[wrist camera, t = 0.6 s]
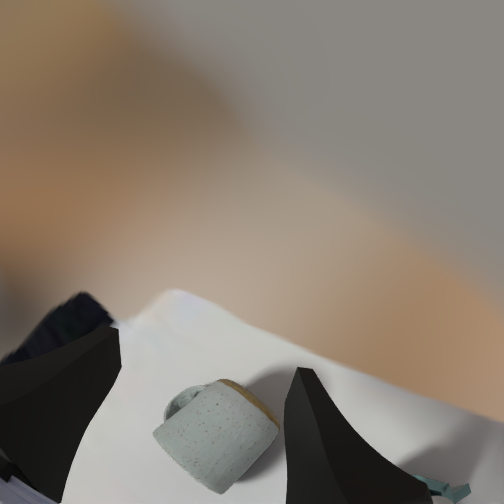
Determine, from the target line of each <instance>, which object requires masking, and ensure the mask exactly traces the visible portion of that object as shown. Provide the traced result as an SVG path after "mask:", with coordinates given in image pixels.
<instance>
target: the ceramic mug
mask: <svg viewBox="0 0 504 504" xmlns="http://www.w3.org/2000/svg"><path fill="white" fill-rule="evenodd" d="M279 428H280V426H279V421H278V419H277V418H276V416H275V415H274V414H273V412H272V411H271V410H270V409H269V408H268V407H267V406H266V405H265V404H264V403H263V402H261V401H260V400H259V399H258V398H257V397H255V396H254V395H253V394H252V393H250V392H249V391H248V390H247V389H245V388H243V387H242V386H240V385H239V384H237V383H235V382H234V381H231V380H228V379H219V380H217V381H216V382H214V383H212V384H211V385H209V386H208V387H207V386H201V385H199V386H193V387H190V388H188V389H186V390H184V391H182V392H181V393H179V394H178V395H177V396H175V397H174V398H173V399H172V400H171V401H170V403H169V404H168V406H167V407H166V409H165V412H164V423H163V424H162V425H160V426H159V427H158V428H157V429H155V430H154V432H153V436H154V438H155V440H156V441H157V443H158V444H159V445H160V446H161V448H162V449H163V450H164V451H165V452H166V453H167V454H168V455H169V456H170V457H171V458H172V459H173V460H174V461H175V462H176V463H177V464H178V465H179V466H180V467H181V468H182V469H183V470H184V471H185V472H187V473H188V474H189V475H190V476H191V477H192V478H194V479H195V480H196V481H198V482H199V483H201V484H202V485H204V486H205V487H206V488H208V489H209V490H211V491H213V492H215V493H218V494H223V493H225V492H226V491H227V490H228V489H229V488H230V487H231V486H232V485H233V484H234V483H235V482H236V481H237V480H238V479H239V478H240V477H241V476H242V475H243V474H244V473H245V472H246V471H247V470H248V469H249V467H250V466H251V465H252V464H253V463H254V462H255V461H256V460H257V459H258V458H259V456H260V455H261V454H262V453H263V452H264V451H265V450H266V449H267V448H268V447H269V446H270V444H271V443H272V442H273V440H274V439H275V437H276V435H277V434H278V432H279Z"/></svg>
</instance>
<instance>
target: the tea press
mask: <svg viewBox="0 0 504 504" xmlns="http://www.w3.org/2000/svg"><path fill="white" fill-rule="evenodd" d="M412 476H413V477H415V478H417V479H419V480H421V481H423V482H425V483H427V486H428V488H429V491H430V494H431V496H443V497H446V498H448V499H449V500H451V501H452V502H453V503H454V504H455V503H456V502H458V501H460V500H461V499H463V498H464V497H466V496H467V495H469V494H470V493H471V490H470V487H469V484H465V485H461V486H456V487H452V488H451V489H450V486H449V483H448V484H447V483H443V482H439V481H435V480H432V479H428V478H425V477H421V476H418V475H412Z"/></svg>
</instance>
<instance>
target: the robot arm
mask: <svg viewBox="0 0 504 504" xmlns="http://www.w3.org/2000/svg"><path fill="white" fill-rule="evenodd" d="M121 367H122V365H121V355H120V344H119V330H118V329H116V328H112V327H109V326H103V327H101V328H99V329H97V330H95V331H93V332H91V333H89V334H87V335H85V336H83V337H81V338H79V339H77V340H75V341H73V342H71V343H69V344H67V345H65V346H63V347H60V348H58V349H56V350H54V351H51V352H49V353H47V354H44V355H41V356H39V357H36V358H33V359H29V360H26V361H23V362H18V363H14V364H9V365H4V366H0V504H59V503H61V501H62V496H63V492H64V488H65V484H66V480H67V477H68V474H69V471H70V468H71V465H72V462H73V459H74V457H75V454H76V451H77V449H78V446H79V444H80V442H81V439H82V437H83V435H84V433H85V430H86V429H87V427H88V425H89V423H90V421H91V420H92V418H93V417H94V415H95V413H96V412H97V410H98V409H99V407H100V406H101V404H102V402H103V401H104V399H105V398H106V396H107V395H108V393H109V391H110V390H111V388H112V387H113V385H114V383H115V381H116V378H117V376H118V374H119V372H120V369H121ZM284 434H285V447H286V460H287V494H286V504H433V500H432V497H431V494H430V491H429V488H428V486H427V483H425V482H423V481H421V480H419V479H417V478H415V477H413V476H412V475H410V474H408V473H406V472H404V471H403V470H401V469H400V468H398V467H397V466H395V465H394V464H392V463H391V462H390V461H388V460H387V459H386V458H384V457H383V456H382V455H381V454H379V453H378V452H377V451H376V450H375V449H373V448H372V447H371V446H370V445H369V444H368V443H367V442H366V441H365V440H364V439H363V438H362V437H361V436H360V435H359V434H358V433H357V432H356V431H355V430H354V429H353V427H352V426H351V425H350V424H349V423H348V421H347V420H346V419H345V418H344V416H343V415H342V414H341V412H340V411H339V409H338V408H337V407H336V405H335V404H334V402H333V401H332V399H331V398H330V396H329V395H328V393H327V391H326V390H325V388H324V387H323V385H322V383H321V382H320V380H319V378H318V377H317V375H316V373H315V372H314V370H313V369H309V368H301V367H297V370H296V373H295V376H294V378H293V381H292V384H291V387H290V390H289V392H288V395H287V398H286V401H285V409H284Z"/></svg>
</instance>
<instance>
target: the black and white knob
mask: <svg viewBox="0 0 504 504" xmlns="http://www.w3.org/2000/svg"><path fill="white" fill-rule="evenodd" d="M431 497H432V500H433V504H454V503H453V502H452V501H451V500H449V499H448V498H446V497H443V496H431Z"/></svg>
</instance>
